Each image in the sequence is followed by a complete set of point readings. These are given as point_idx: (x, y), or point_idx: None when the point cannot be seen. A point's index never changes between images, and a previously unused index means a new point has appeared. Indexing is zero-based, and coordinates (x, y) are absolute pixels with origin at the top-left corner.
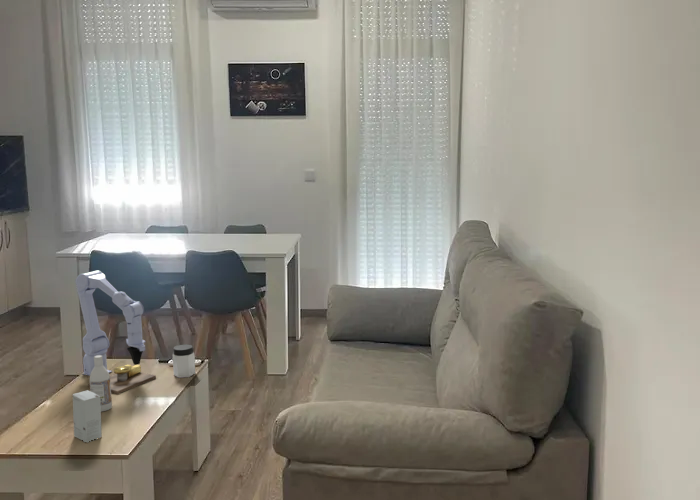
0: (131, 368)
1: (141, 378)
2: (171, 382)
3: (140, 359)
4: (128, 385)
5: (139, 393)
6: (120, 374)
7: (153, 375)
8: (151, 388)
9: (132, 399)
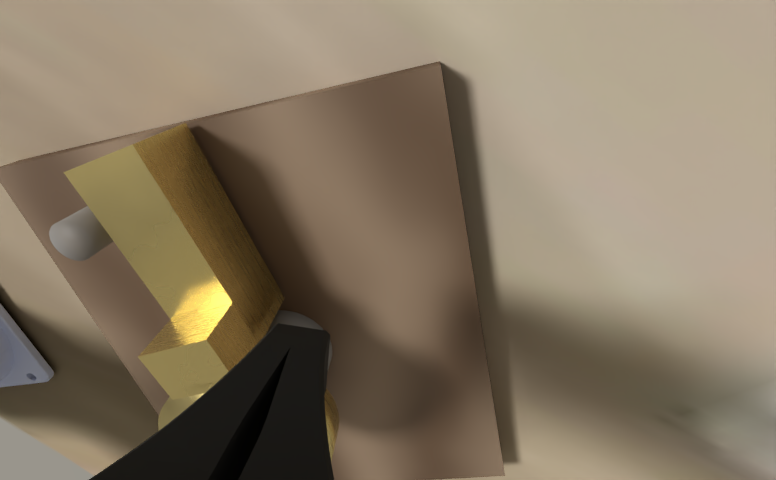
0: (229, 314)
1: (394, 232)
2: (761, 10)
3: (320, 377)
4: (468, 388)
5: (647, 382)
6: None
7: (415, 84)
8: (659, 270)
9: (692, 458)
